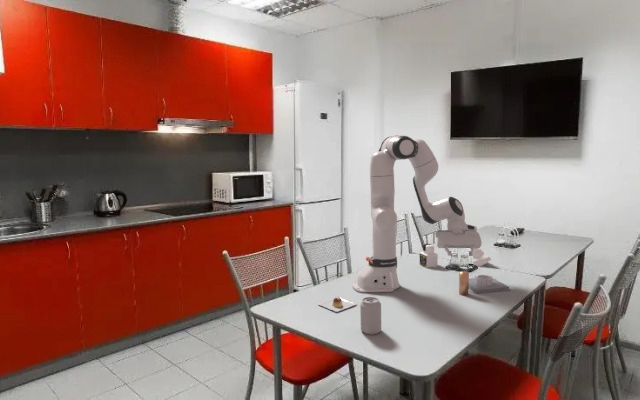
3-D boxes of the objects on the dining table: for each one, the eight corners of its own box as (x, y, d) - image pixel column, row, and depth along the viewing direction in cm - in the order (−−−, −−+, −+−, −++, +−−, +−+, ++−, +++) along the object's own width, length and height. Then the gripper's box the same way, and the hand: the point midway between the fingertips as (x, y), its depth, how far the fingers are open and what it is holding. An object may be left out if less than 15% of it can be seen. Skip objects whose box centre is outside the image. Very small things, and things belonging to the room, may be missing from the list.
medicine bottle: (419, 264, 234) (419, 243, 233) (430, 263, 236) (430, 242, 235) (426, 268, 227) (426, 246, 226) (437, 266, 229) (437, 245, 228)
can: (379, 326, 157) (379, 295, 155) (383, 335, 149) (382, 302, 148) (359, 327, 156) (358, 296, 155) (362, 336, 149) (361, 303, 147)
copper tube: (461, 296, 185) (462, 273, 184) (457, 292, 189) (457, 271, 187) (470, 295, 186) (470, 273, 184) (465, 292, 189) (465, 270, 188)
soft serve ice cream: (469, 270, 226) (462, 245, 226) (461, 265, 241) (455, 241, 241) (492, 264, 225) (485, 239, 225) (483, 259, 240) (476, 235, 240)
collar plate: (476, 293, 188) (476, 283, 187) (459, 282, 202) (459, 273, 202) (509, 289, 190) (509, 280, 190) (490, 279, 205) (490, 270, 205)
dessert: (317, 306, 179) (317, 295, 179) (338, 299, 187) (338, 288, 186) (336, 314, 170) (336, 303, 170) (357, 306, 178) (357, 295, 177)
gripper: (435, 226, 204) (437, 251, 195) (479, 226, 200) (484, 251, 192) (434, 233, 208) (436, 258, 200) (477, 233, 205) (481, 258, 197)
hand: (460, 255), depth 196 cm, fingers open, 8 cm apart
